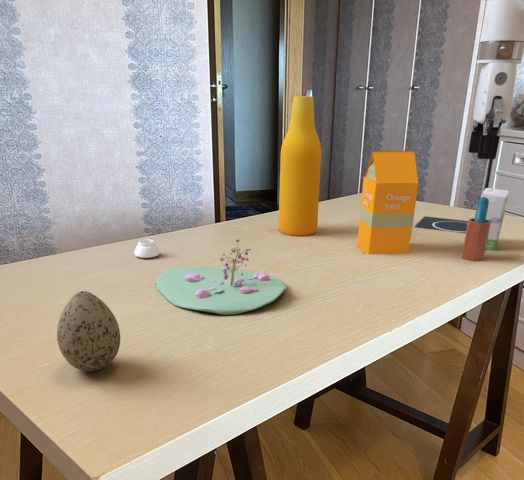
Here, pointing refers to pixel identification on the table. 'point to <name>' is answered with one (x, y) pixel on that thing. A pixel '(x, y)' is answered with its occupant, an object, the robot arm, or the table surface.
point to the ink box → (495, 214)
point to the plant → (219, 287)
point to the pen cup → (475, 240)
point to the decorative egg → (88, 333)
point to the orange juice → (388, 202)
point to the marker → (481, 210)
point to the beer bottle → (300, 172)
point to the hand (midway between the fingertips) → (481, 155)
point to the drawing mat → (443, 224)
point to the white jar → (146, 249)
